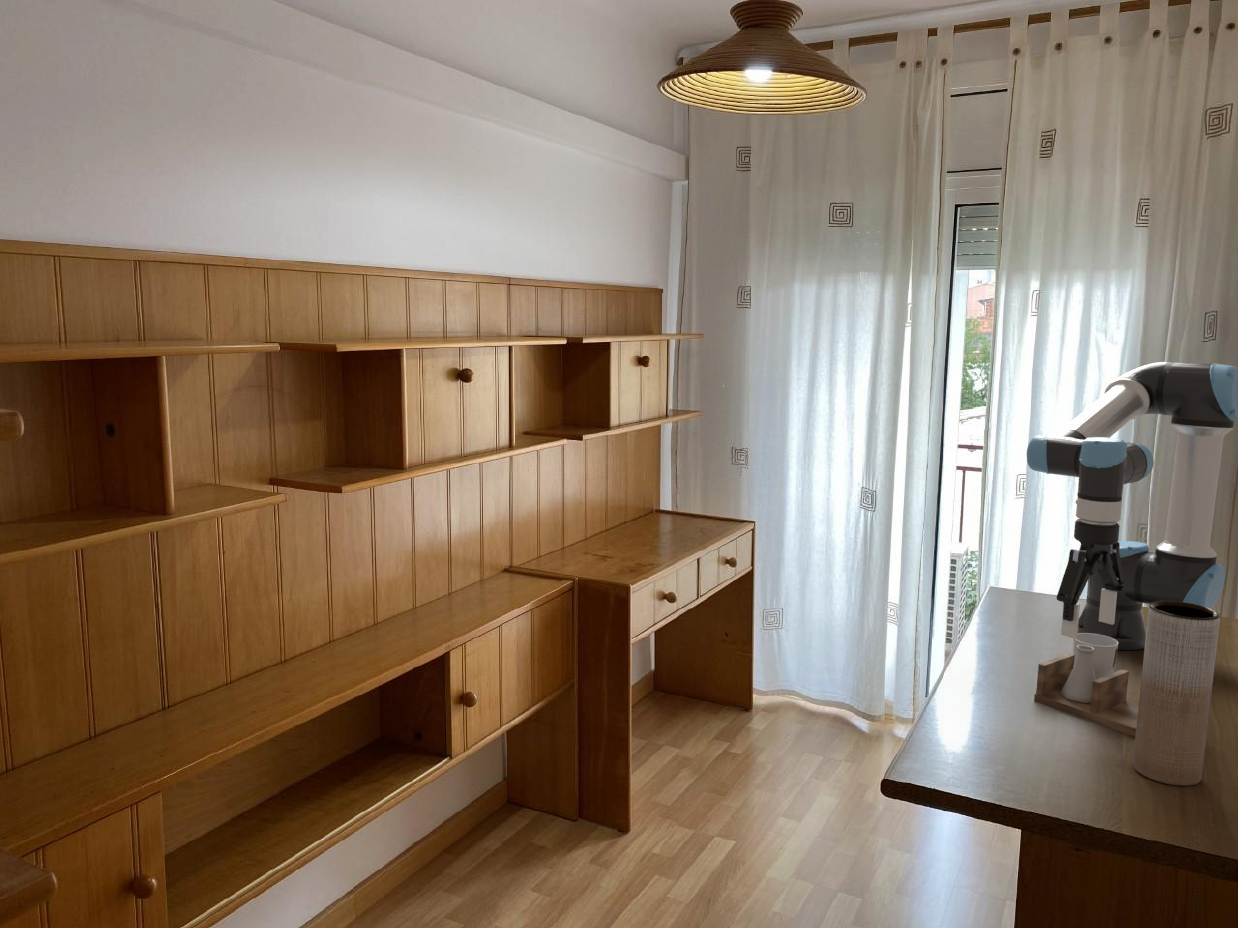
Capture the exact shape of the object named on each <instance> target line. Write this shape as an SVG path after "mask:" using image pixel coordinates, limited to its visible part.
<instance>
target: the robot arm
mask: <svg viewBox="0 0 1238 928" xmlns="http://www.w3.org/2000/svg"><path fill="white" fill-rule="evenodd" d="M1103 393H1104V394H1103V395H1102V396H1101V397H1100V398H1098V399H1097V400H1096V401H1095V402H1093V403H1092V404H1091V405H1089V406H1088V408H1086V409H1085V410H1084V411H1082V412H1081V413H1080V414H1079V415H1077V416H1076V417H1075V418H1074V419H1073V420H1072V421H1070V422H1069V423H1068V424H1067V425H1065V426H1064V427H1063V428H1062V429H1061V430H1059V431H1058V432H1057V433H1056V434H1054V435H1052V436H1051V435H1048V434H1046V435H1045V434H1044V435H1035V436H1033V437H1032V439H1030V441H1029V443H1028V446H1027V449H1026V463H1027V465H1028V467H1029V468H1030V469H1031V470H1033V471H1034V472H1041V473H1044V474H1047V475H1049V474H1050V475H1059V476H1065V477H1066V476H1067V477H1073V478H1074V477H1075V478H1078V485H1077V486H1078V487H1077V494H1076V495H1077V499H1076V500H1075V504H1076V511H1075V516H1076V517H1077V519H1076V520H1075V522H1074V531H1073V538H1074V540H1076V541H1078V542H1079V543H1080V546H1079V550H1077V549H1073V548H1072V549H1070V550H1069V555H1068V561H1067V564H1066V567H1065V571H1064V574H1063V576H1062V580H1061V583H1060V586H1059V589H1058V592H1057V595H1056V600H1057V601H1059V602H1062V603H1063V607H1062V617H1061V631H1060V634H1061V636H1065V637H1068V638H1071V639H1073V640H1074V639H1076V638H1077V634H1080V633H1092V634H1099V635H1104V636H1108V637H1111V638H1113V639H1115V640H1117V641H1118V649H1117V651H1119V650H1120V651H1136V650H1142V649H1145V640H1146V631H1147V625H1146V623H1145V619H1144V615H1143V604H1145V605H1150V604H1151V603H1153V602H1157V601H1178V602H1186V603H1192V604H1197V605H1201V606H1205V607H1208V608H1210V609H1213V608H1214V607H1215V605H1216V604H1217V602H1218V600H1219V598H1220V596H1221V593H1222V590H1223V588H1224V584H1225V581H1226V580H1225V579H1226V569H1225V567H1224V566H1223V565H1222V564H1220V563H1217V555H1218V554H1217V553H1216V551H1214V549H1213V548H1212V547H1211V538H1212V531H1213V530H1212V529H1213V523H1214V514H1215V506H1216V498H1217V491H1218V482H1219V476H1220V467H1221V459H1222V453H1223V452H1222V451H1223V445H1224V438H1225V436H1226V435H1228V433H1230V432H1231V431H1233V430H1234V424H1235V423H1236V422H1238V367H1236V366H1234V365H1229V364H1228V365H1227V364H1221V363H1216V362H1215V363H1198V362H1195V363H1194V362H1173V361H1160V362H1152V363H1148V364H1145V365H1142V366H1139V367H1136V368H1135V369H1132V370H1130V371H1128V372H1125V373H1124V374H1122V375H1121V376H1118V377H1117V378H1116V379H1114V380H1113V381H1112V382H1111V383H1110V384H1108V385H1107V387H1106V389H1105V390H1104V392H1103ZM1144 415H1163V416H1171V419H1170V420H1171V421H1170V425H1171V426H1172V428H1173V429H1175V431H1176V433H1177V436H1176V444H1175V453H1174V461H1173V470H1172V476H1171V477H1172V479H1171V486H1170V493H1169V501H1168V502H1169V503H1168V511H1167V520H1166V528H1165V536H1164V540H1163V541H1162V542H1160V543H1159V544H1157V545H1156V547H1155V552H1152V551H1150V547H1149V545H1148V544H1147V543H1144V542H1141V541H1133V540H1132V541H1131V540H1129V541H1128V540H1119V537H1120V524H1119V523H1118V522H1120V521H1121V519H1122V518H1121V516H1122V503H1123V501H1122V500H1123V490H1124V485H1127V484H1134V483H1137V482H1140V481H1142V479H1144V478H1146V477H1148V476H1149V475H1150V474H1151V472H1152V471H1153V468H1154V464H1155V463H1154V461H1155V460H1154V456H1153V454H1152V452H1151V450H1150V449H1149V448H1148V447H1147V446H1145V445H1144V444H1142V443H1140V442H1139V443H1138V442H1130V441H1129V442H1128V441H1127V442H1125V441H1124V440H1123V439H1120V438H1116V437H1113V435H1115V434H1116V433H1117V432H1118V431H1120V429H1122V427H1124V426H1125V425H1126V424H1128V423H1129V422H1130V421H1133V420H1137V419H1140V418H1142V416H1144ZM1086 585H1087V588H1086V589H1087V591H1086V598H1085V599H1086V600H1085V605H1084V608H1083V609H1082V611H1081V613H1080V606H1081V603H1078V602H1079V600H1080V598H1081V596H1082V593H1083V592H1084V589H1085V587H1086Z"/></svg>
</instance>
